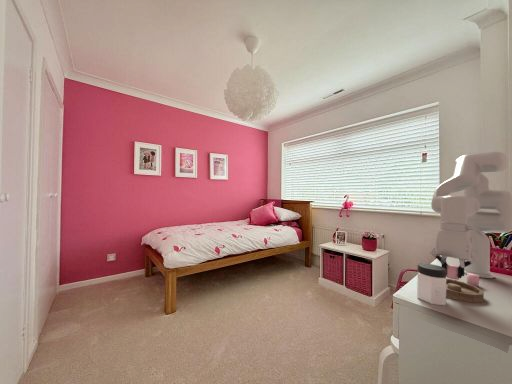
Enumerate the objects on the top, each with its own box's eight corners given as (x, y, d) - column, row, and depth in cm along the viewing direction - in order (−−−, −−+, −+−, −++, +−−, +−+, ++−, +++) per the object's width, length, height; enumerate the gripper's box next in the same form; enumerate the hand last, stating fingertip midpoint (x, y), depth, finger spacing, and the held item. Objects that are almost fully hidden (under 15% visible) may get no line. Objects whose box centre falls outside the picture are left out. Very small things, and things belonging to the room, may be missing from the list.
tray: (433, 281, 94) (433, 274, 94) (484, 294, 82) (484, 287, 82) (424, 290, 84) (424, 283, 84) (481, 307, 72) (481, 298, 72)
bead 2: (467, 282, 94) (467, 272, 94) (479, 285, 91) (479, 275, 91) (466, 284, 91) (466, 274, 91) (478, 287, 88) (478, 276, 89)
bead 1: (447, 275, 82) (447, 264, 83) (459, 278, 80) (459, 266, 80) (445, 277, 80) (445, 265, 80) (458, 280, 77) (458, 268, 77)
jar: (424, 303, 73) (425, 269, 73) (411, 293, 81) (411, 262, 81) (453, 306, 72) (454, 271, 72) (436, 295, 80) (437, 264, 80)
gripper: (485, 230, 77) (485, 280, 76) (428, 224, 89) (427, 267, 89) (484, 231, 72) (483, 285, 71) (424, 225, 84) (423, 271, 84)
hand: (452, 275), depth 80 cm, fingers closed on bead 1, 3 cm apart
